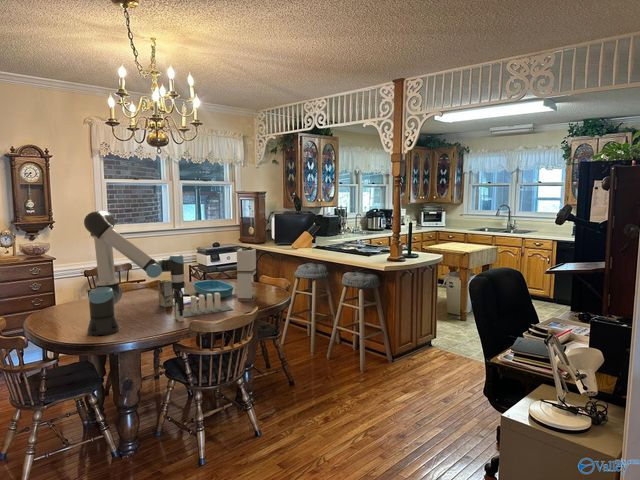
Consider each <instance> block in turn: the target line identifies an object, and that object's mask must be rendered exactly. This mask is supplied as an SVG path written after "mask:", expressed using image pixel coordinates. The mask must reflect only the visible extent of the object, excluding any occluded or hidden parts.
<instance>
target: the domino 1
mask: <svg viewBox="0 0 640 480" xmlns="http://www.w3.org/2000/svg"><path fill="white" fill-rule="evenodd" d="M175 308H176V311H175V319H176V320H177V321H178V322H179V318H178V311H177V310H178V302H177V303H176V307H175Z"/></svg>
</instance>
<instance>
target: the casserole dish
mask: <svg viewBox="0 0 640 480" xmlns="http://www.w3.org/2000/svg"><path fill="white" fill-rule="evenodd" d="M192 286H193V288H194V290H195V292H196V293H198V295H204V297H205V298H207V294H212V297H213V300H215V296H214V293H217V292H218V293H219V294H220V299H221V298H227V297H230V296H231V295H232V293H233V291H234V285H233V284H230V283H228V282H225V281H222V280H217V279H210V280H209V279H208V280H207V279H206V280H201V281H197V282H194V283H192Z"/></svg>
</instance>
